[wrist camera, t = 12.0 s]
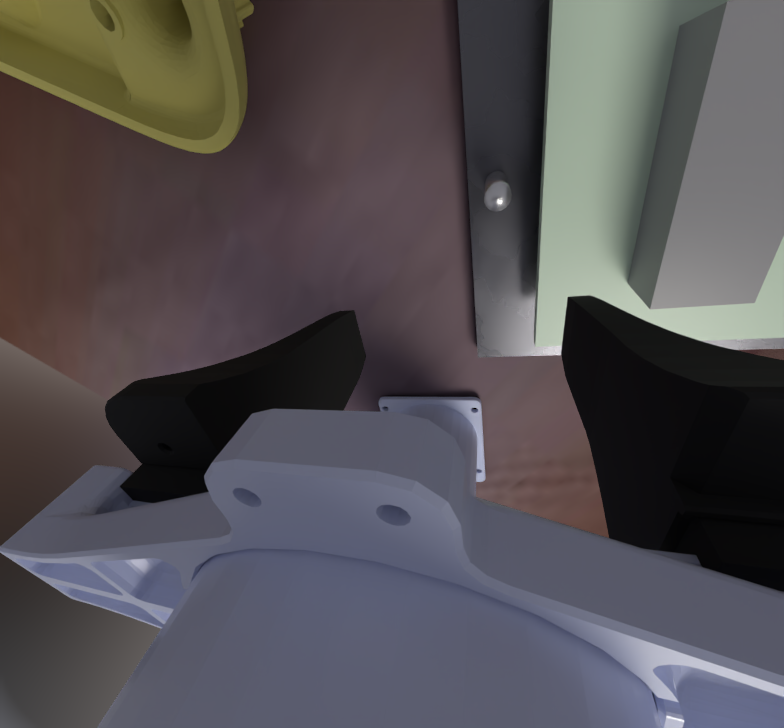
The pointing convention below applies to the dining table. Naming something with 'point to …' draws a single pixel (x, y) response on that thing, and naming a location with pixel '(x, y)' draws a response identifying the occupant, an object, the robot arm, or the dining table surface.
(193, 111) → the plastic component
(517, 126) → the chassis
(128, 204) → the dining table surface
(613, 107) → the board
